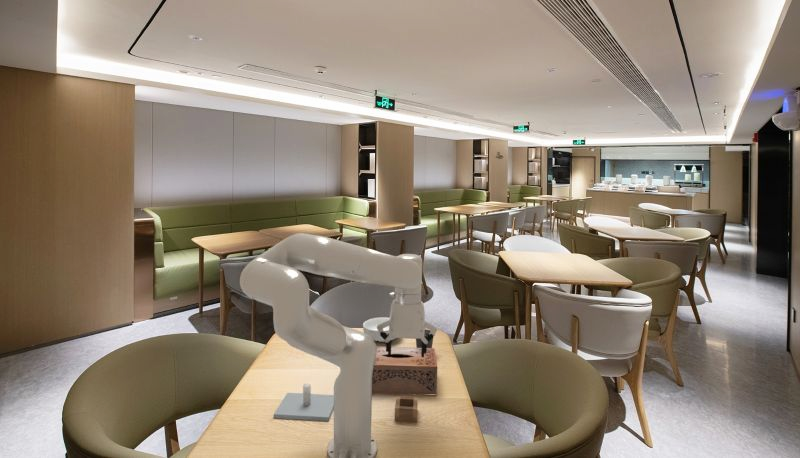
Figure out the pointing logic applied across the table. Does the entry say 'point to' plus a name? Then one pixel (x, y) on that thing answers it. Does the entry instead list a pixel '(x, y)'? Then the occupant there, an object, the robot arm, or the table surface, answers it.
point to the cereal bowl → (375, 328)
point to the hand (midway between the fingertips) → (406, 354)
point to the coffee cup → (419, 341)
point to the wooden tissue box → (406, 409)
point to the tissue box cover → (404, 371)
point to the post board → (306, 406)
